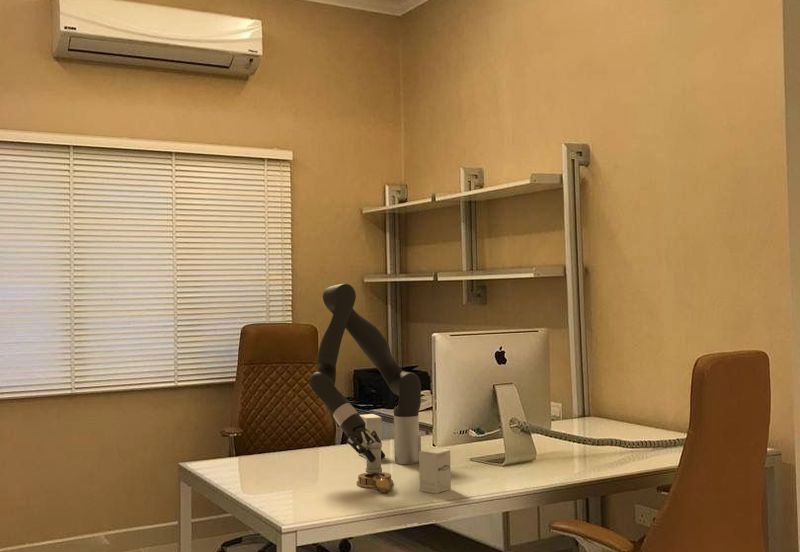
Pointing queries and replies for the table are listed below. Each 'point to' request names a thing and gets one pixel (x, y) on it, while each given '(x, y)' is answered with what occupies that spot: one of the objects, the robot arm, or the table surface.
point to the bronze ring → (376, 481)
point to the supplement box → (434, 470)
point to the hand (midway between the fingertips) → (378, 459)
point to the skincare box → (372, 425)
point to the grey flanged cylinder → (376, 465)
